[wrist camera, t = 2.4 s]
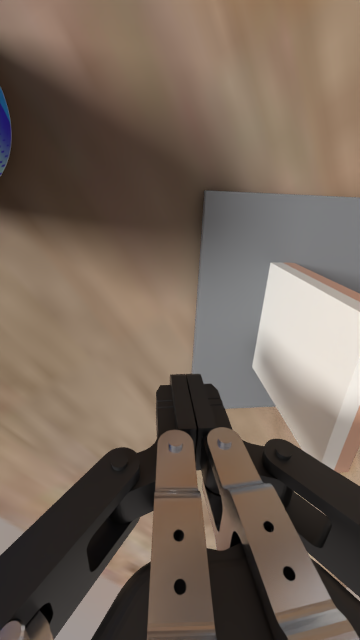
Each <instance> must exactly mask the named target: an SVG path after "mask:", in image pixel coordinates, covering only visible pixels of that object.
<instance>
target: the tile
mask: <svg viewBox="0 0 360 640" xmlns="http://www.w3.org/2000/svg"><path fill="white" fill-rule="evenodd" d="M252 368H253V369H254V371H255V373H256V374H257V376H258V378H259V379H260V381H261V382H262V384H263V386H264V387H265V389H266V391H267V392H268V394H269V396H270V397H271V399H272V401H273V402H274V404H275V406H276V407H277V409H278V411H279V412H280V414H281V416H282V417H283V419H284V420H285V422H286V424H287V425H288V427H289V429H290V430H291V432H292V434H293V435H294V437H295V439H296V440H297V442H298V444H299V445H300V447H301V449H302V450H303V451H304V452H306V453H307V454H309V455H311V456H312V457H314V458H315V459H317V460H319V461H320V462H322V463H323V464H325V465H326V466H328V467H330V468H331V469H333V470H334V471H336V472H338V473H339V472H349V469H350V467H351V465H352V462H353V460H354V458H355V455H356V453H357V451H358V448H359V446H360V294H359V293H357V292H355V291H353V290H351V289H349V288H347V287H345V286H342V285H340V284H338V283H336V282H334V281H332V280H330V279H327V278H325V277H323V276H321V275H319V274H317V273H315V272H313V271H310V270H308V269H306V268H304V267H302V266H300V265H298V264H296V263H275V262H271V263H270V268H269V274H268V280H267V285H266V291H265V297H264V302H263V308H262V314H261V319H260V325H259V331H258V336H257V342H256V348H255V353H254V359H253V365H252Z"/></svg>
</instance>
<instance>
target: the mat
mask: <svg viewBox="0 0 360 640" xmlns="http://www.w3.org/2000/svg"><path fill="white" fill-rule="evenodd" d="M271 262H275V263H296V264H298V265H300V266H302V267H304V268H306V269H308V270H310V271H313V272H315V273H317V274H319V275H321V276H323V277H325V278H327V279H330V280H332V281H334V282H336V283H338V284H340V285H342V286H345V287H347V288H349V289H351V290H353V291H355V292H357V293H359V294H360V198H356V197H334V196H313V195H292V194H271V193H250V192H228V191H207V190H206V191H204V205H203V219H202V233H201V247H200V262H199V276H198V290H197V305H196V319H195V333H194V347H193V362H192V374H201V377H202V380H203V383H204V384H212V385H213V386H214V387H215V388H216V389H217V390H218V392H219V394H220V397H221V400H222V403H223V406H224V408H225V409H229V408H251V407H273V406H275V404H274V402H273V401H272V399H271V397H270V396H269V394H268V392H267V391H266V389H265V387H264V386H263V384H262V382H261V381H260V379H259V378H258V376H257V374H256V373H255V371H254V369H253V368H252V365H253V359H254V353H255V348H256V342H257V336H258V331H259V325H260V319H261V314H262V308H263V302H264V297H265V291H266V285H267V280H268V274H269V268H270V263H271Z"/></svg>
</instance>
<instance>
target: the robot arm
mask: <svg viewBox="0 0 360 640" xmlns="http://www.w3.org/2000/svg"><path fill="white" fill-rule="evenodd" d="M156 425H157V440H156V442H155V443H154V444H153V445H152V446H151V447H150V448H148V449H147V450H144V451H142V452H139V453H136V452H135V451H134V450H132V449H129V448H125V447H121V448H116V449H113V450H111V451H110V452H108V453H107V454H106V455H105V456H104V457H103V458H101V459H100V460H99V461H98V462H97V463H96V464H95V465H94V466H93V467H92V468H91V469H90V470H89V471H88V472H87V473H86V474H85V475H84V476H83V477H82V478H81V479H80V480H79V481H78V482H76V483H75V484H74V485H73V486H72V487H71V488H70V489H69V490H68V491H67V492H66V493H65V494H64V495H63V496H62V497H61V498H60V499H59V500H58V501H57V502H56V503H55V504H54V505H52V506H51V507H50V508H49V509H48V510H47V511H46V512H45V513H44V514H43V515H42V516H41V517H40V518H39V519H38V520H37V521H36V522H35V523H34V524H33V525H32V526H31V527H30V528H29V529H27V530H26V531H25V532H24V533H23V534H22V535H21V536H20V537H19V538H18V539H17V540H16V541H15V542H14V543H13V544H12V545H11V546H10V547H9V548H8V549H7V550H6V551H5V552H4V553H3V554H1V555H0V640H54V638H55V637H56V636H57V634H58V633H59V631H60V630H61V629H62V627H63V626H64V625H65V623H66V622H67V620H68V619H69V618H70V616H71V615H72V613H73V612H74V611H75V609H76V608H77V606H78V605H79V604H80V602H81V601H82V599H83V598H84V597H85V595H86V594H87V592H88V591H89V590H90V588H91V587H92V585H93V584H94V583H95V581H96V580H97V578H98V577H99V576H100V574H101V573H102V572H103V570H104V569H105V567H106V566H107V565H108V563H109V562H110V560H111V559H112V558H113V556H114V555H115V553H116V552H117V551H118V549H119V548H120V546H121V545H122V544H123V542H124V541H125V539H126V538H127V537H128V535H129V534H130V532H131V531H132V530H133V528H134V527H135V526H136V524H137V523H138V521H139V519H140V517H141V516H143V515H145V514H147V513H150V512H152V511H154V512H153V531H152V551H151V562H149V563H148V564H146V565H144V566H143V567H142V568H140V569H139V570H138V571H137V572H136V573H135V574H134V575H133V576H132V577H131V578H130V579H129V580H128V581H127V582H126V584H125V585H124V586H123V588H122V589H121V591H120V592H119V594H118V596H117V597H116V599H115V600H114V602H113V604H112V605H111V607H110V609H109V611H108V612H107V614H106V615H105V617H104V619H103V621H102V622H101V624H100V626H99V627H98V629H97V631H96V632H95V634H94V636H93V637H92V639H91V640H360V601H359V600H358V599H357V598H355V597H354V596H353V595H352V594H351V593H350V592H349V591H348V590H347V589H346V588H344V587H343V586H342V585H341V584H340V583H339V582H338V581H337V580H336V579H335V578H333V577H332V576H331V575H330V574H329V573H328V572H327V571H326V570H325V569H324V568H322V567H321V566H320V565H319V564H318V563H316V562H315V561H314V560H312V559H311V558H310V557H309V555H308V553H309V554H310V555H311V556H313V557H314V558H315V559H316V560H317V561H318V562H320V563H321V564H322V565H323V566H324V567H325V568H326V569H328V570H329V571H330V572H331V573H332V574H333V575H335V576H336V577H337V578H338V579H339V580H340V581H342V582H343V583H344V584H345V585H346V586H347V587H348V588H350V589H351V590H352V591H353V592H354V593H355V594H357V595H358V596H359V597H360V486H358V485H357V484H355V483H353V482H352V481H350V480H349V479H347V478H346V477H344V476H342V475H341V474H339V473H338V472H336V471H334V470H333V469H331V468H330V467H328V466H326V465H325V464H323V463H322V462H320V461H319V460H317V459H315V458H314V457H312V456H311V455H309V454H307V453H306V452H304V451H303V450H301V449H300V448H298V447H296V446H295V445H293V444H292V443H290V442H288V441H286V440H282V439H272V440H269V441H268V442H267V443H266V444H265V446H259V445H255V444H251V443H247V442H245V441H243V440H242V439H241V437H240V436H239V435H238V434H237V433H236V432H235V431H233V430H232V427H231V424H230V422H229V419H228V416H227V414H226V411H225V408H224V406H223V403H222V400H221V397H220V394H219V392H218V390H217V389H216V388H215V387H214V386H213V385H212V384H204V383H203V380H202V377H201V374H186V375H185V374H176V375H170V385H160V387H159V389H158V390H157V392H156ZM196 470H201V471H202V476H203V481H202V490H203V494H204V497H205V501H206V505H207V509H208V512H209V516H210V520H211V524H212V527H213V531H214V535H215V540H216V549H217V550H213V549H208V548H206V539H205V529H204V520H203V510H202V501H201V494H200V491H198V486H197V475H196ZM294 491H295V492H296V493H297V494H296V493H295V492H294ZM298 494H299V495H300V496H301V497H300V496H299V495H298ZM302 497H303V498H304V499H306V500H307V501H308V502H310V503H311V504H312V505H314V506H315V507H316V508H318V509H319V510H320V511H322V512H323V513H324V514H325V515H324V514H323V513H322V512H320V511H319V510H318V509H316V508H315V507H314V506H312V505H311V504H310V503H308V502H307V501H306V500H304V499H303V498H302ZM307 552H308V553H307Z"/></svg>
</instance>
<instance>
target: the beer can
mask: <svg viewBox="0 0 360 640" xmlns="http://www.w3.org/2000/svg"><path fill="white" fill-rule="evenodd" d="M11 141H12V130H11V120H10V115H9V110H8V106H7V103H6V100H5V97H4V94H3V91H2V89H1V87H0V176H1V175H2V173H3V171H4V169H5V167H6V165H7V162H8V159H9V155H10V150H11Z"/></svg>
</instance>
